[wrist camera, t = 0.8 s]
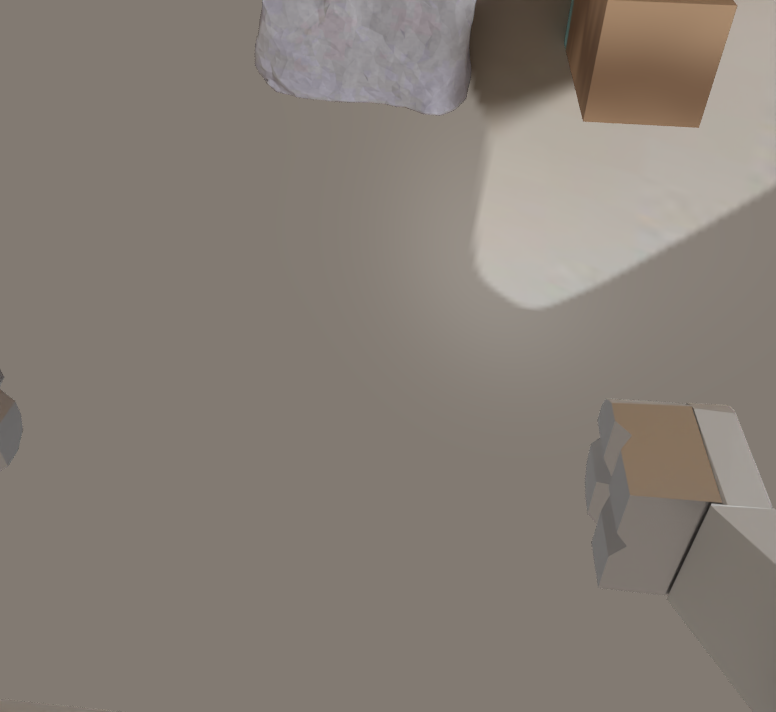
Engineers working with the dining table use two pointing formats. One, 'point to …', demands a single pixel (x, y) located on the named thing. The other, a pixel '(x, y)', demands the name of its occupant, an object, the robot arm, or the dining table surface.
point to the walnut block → (646, 58)
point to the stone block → (368, 51)
